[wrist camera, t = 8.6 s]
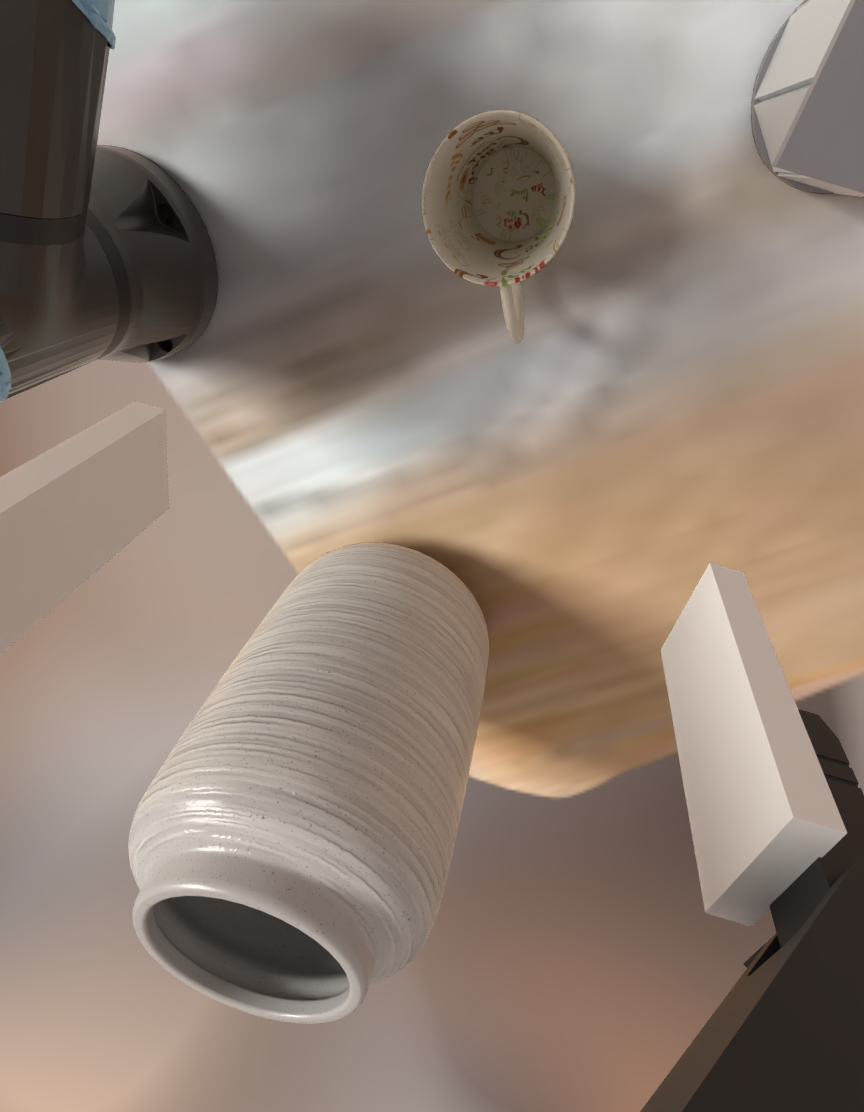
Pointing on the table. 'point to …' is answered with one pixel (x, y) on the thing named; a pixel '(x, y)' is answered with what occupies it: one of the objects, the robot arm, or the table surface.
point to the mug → (499, 203)
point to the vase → (317, 791)
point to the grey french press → (814, 99)
